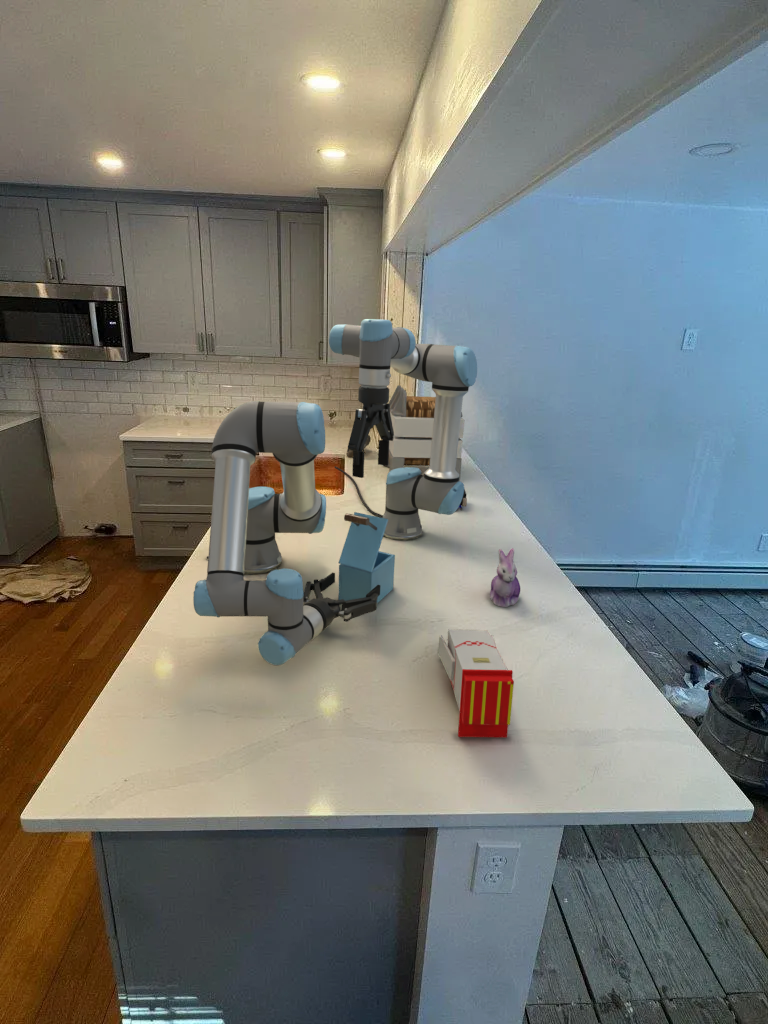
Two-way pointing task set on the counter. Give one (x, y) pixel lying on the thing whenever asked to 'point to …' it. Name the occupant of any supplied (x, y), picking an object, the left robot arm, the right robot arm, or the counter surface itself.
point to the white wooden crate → (414, 431)
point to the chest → (367, 578)
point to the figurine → (505, 581)
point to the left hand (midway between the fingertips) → (356, 583)
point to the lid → (362, 540)
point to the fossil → (350, 453)
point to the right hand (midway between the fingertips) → (371, 470)
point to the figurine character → (463, 501)
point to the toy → (478, 682)
